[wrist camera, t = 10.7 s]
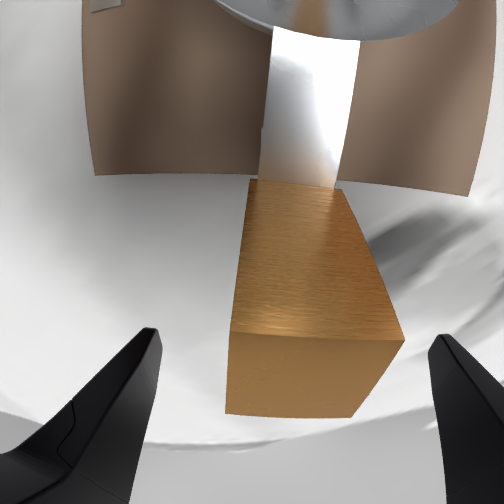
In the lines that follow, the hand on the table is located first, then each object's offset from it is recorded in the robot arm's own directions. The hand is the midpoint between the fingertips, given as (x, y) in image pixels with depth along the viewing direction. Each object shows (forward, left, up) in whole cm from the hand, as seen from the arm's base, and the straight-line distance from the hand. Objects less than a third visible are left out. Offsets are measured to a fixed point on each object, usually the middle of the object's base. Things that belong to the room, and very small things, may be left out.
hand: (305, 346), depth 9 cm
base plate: (0, +12, -10) cm, 15 cm away
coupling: (0, +9, -5) cm, 10 cm away
